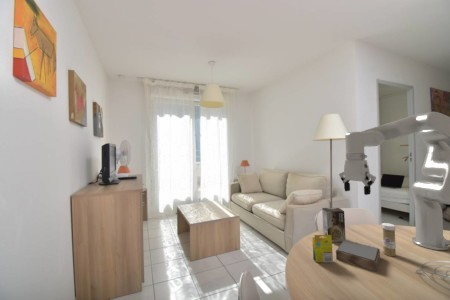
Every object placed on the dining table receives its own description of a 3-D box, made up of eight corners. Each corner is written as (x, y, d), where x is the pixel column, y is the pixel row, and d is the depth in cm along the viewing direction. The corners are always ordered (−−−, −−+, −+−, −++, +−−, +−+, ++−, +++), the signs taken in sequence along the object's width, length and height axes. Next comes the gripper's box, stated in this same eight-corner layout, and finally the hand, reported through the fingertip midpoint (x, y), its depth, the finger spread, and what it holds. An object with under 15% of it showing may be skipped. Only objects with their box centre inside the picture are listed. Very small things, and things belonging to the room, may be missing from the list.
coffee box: (340, 236, 108) (339, 207, 108) (346, 242, 102) (345, 211, 102) (322, 236, 109) (321, 207, 109) (327, 241, 103) (326, 210, 103)
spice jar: (383, 254, 89) (382, 224, 89) (383, 250, 92) (382, 221, 93) (396, 257, 86) (395, 227, 86) (396, 253, 89) (395, 224, 90)
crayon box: (330, 259, 86) (329, 232, 86) (333, 262, 83) (332, 235, 83) (312, 258, 87) (312, 232, 87) (315, 262, 84) (314, 235, 84)
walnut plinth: (380, 257, 87) (379, 248, 87) (376, 271, 76) (376, 261, 76) (343, 247, 96) (343, 239, 96) (336, 259, 86) (336, 250, 86)
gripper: (379, 157, 89) (381, 195, 89) (344, 157, 105) (345, 189, 105) (368, 157, 86) (370, 197, 86) (333, 157, 102) (335, 190, 102)
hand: (356, 192), depth 95 cm, fingers open, 9 cm apart
